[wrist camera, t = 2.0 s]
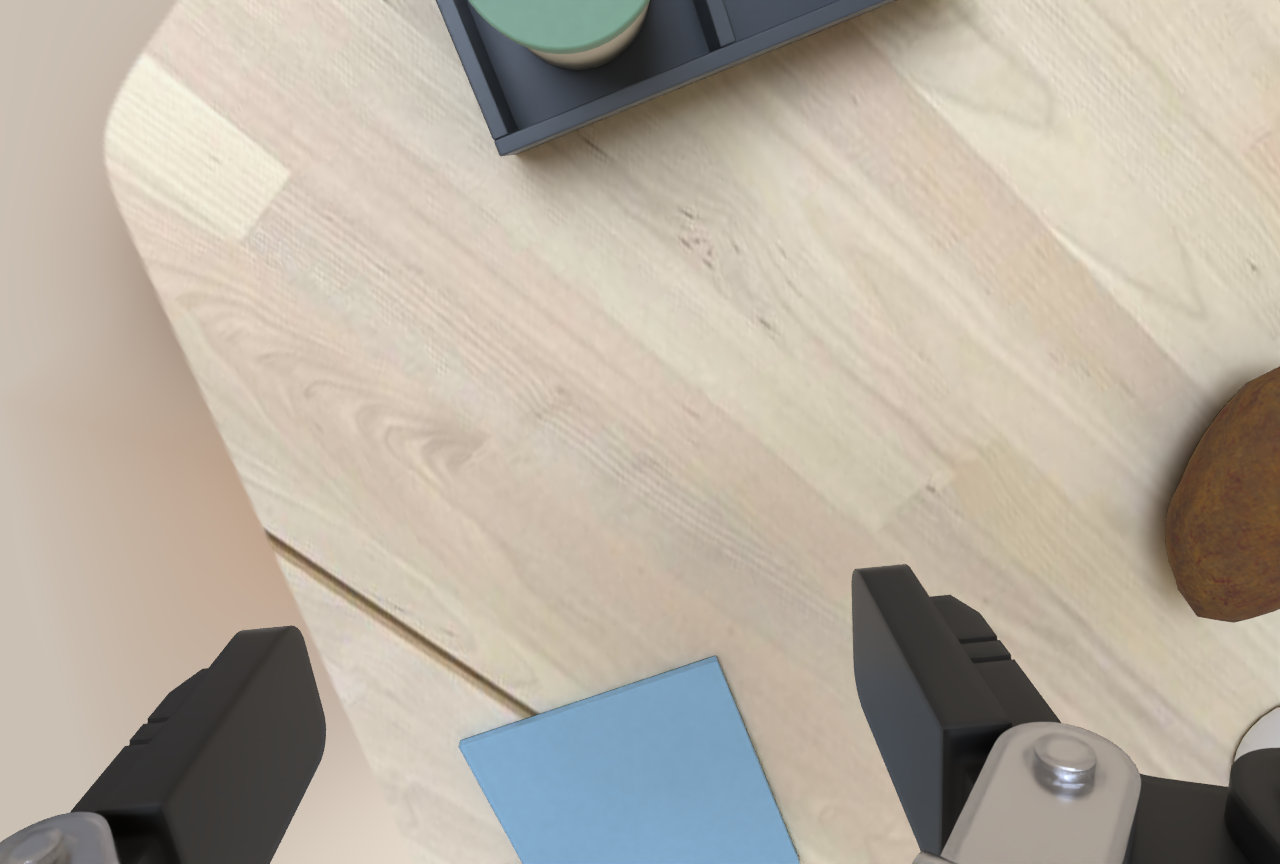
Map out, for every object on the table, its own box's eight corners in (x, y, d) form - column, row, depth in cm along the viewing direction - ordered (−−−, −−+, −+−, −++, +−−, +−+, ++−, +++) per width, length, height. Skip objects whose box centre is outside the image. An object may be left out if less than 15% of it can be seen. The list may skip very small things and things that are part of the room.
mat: (563, 930, 48) (562, 937, 48) (460, 740, 44) (458, 746, 44) (798, 858, 47) (800, 866, 46) (715, 654, 43) (717, 660, 42)
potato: (1325, 354, 38) (1472, 400, 31) (1246, 583, 42) (1363, 666, 35) (1178, 344, 38) (1295, 387, 31) (1111, 575, 42) (1204, 657, 35)
